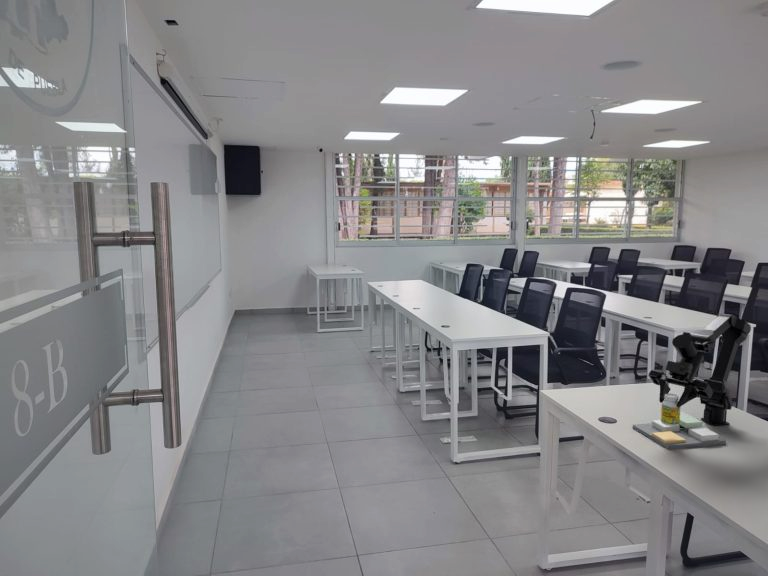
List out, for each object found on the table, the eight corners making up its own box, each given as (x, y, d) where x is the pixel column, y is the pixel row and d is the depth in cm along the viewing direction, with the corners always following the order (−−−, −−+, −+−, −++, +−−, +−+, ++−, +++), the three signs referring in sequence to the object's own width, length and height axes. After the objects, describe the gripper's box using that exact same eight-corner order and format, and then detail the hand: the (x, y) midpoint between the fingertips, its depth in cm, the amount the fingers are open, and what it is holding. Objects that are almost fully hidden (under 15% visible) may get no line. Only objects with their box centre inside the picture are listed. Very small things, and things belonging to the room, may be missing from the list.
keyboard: (685, 423, 188) (686, 415, 188) (725, 443, 171) (726, 435, 170) (632, 427, 185) (632, 419, 185) (667, 449, 167) (668, 440, 167)
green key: (677, 417, 190) (677, 409, 189) (702, 430, 178) (702, 421, 178) (662, 418, 189) (662, 410, 188) (686, 431, 177) (686, 423, 177)
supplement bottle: (680, 422, 172) (682, 394, 171) (677, 428, 168) (679, 399, 167) (662, 419, 176) (664, 391, 174) (659, 424, 172) (660, 395, 170)
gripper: (652, 346, 179) (632, 383, 174) (710, 357, 163) (689, 399, 159) (664, 364, 184) (644, 401, 180) (721, 377, 169) (701, 418, 164)
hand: (668, 404), depth 170 cm, fingers closed on supplement bottle, 5 cm apart
